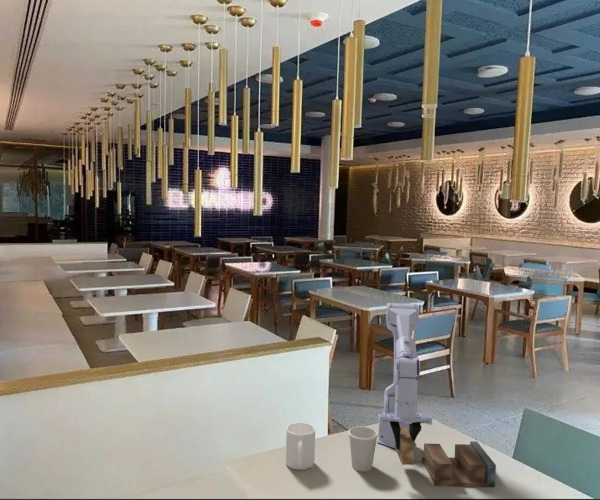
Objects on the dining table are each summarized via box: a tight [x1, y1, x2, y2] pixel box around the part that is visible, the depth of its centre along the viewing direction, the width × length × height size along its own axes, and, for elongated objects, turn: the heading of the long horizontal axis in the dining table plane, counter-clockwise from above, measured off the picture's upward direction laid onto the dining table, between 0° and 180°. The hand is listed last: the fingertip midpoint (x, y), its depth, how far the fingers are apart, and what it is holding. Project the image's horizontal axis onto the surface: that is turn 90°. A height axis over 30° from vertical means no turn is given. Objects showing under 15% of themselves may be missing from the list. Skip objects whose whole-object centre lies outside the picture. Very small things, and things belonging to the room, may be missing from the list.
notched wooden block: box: [421, 440, 497, 488], centre depth 140 cm, size 16×14×6 cm
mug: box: [285, 422, 316, 471], centre depth 141 cm, size 12×8×10 cm
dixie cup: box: [347, 425, 379, 473], centre depth 142 cm, size 8×8×10 cm
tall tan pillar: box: [394, 428, 415, 466], centre depth 140 cm, size 3×10×6 cm, turn 0°
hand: (403, 447), depth 140 cm, fingers closed on tall tan pillar, 3 cm apart
